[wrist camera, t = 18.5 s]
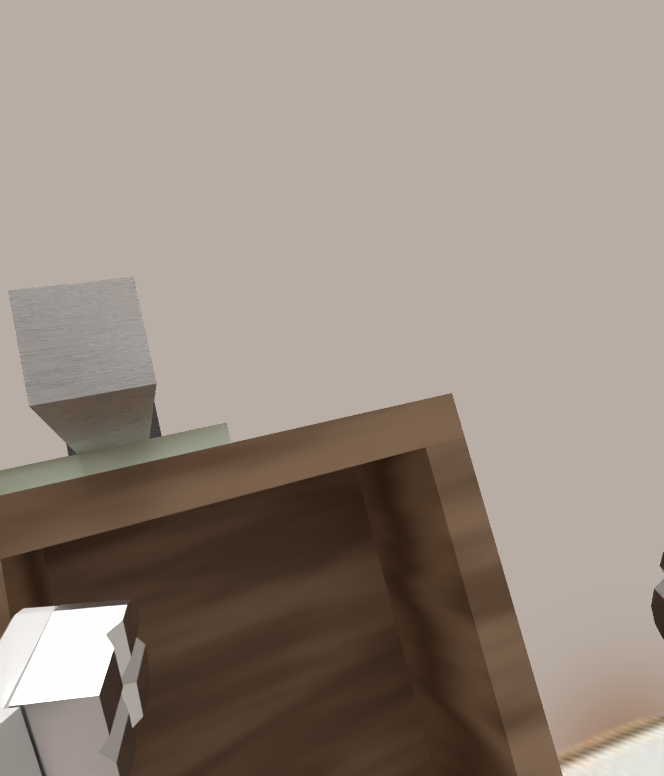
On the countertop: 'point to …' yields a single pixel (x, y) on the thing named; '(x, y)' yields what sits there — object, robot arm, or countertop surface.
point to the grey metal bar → (87, 362)
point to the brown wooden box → (293, 596)
